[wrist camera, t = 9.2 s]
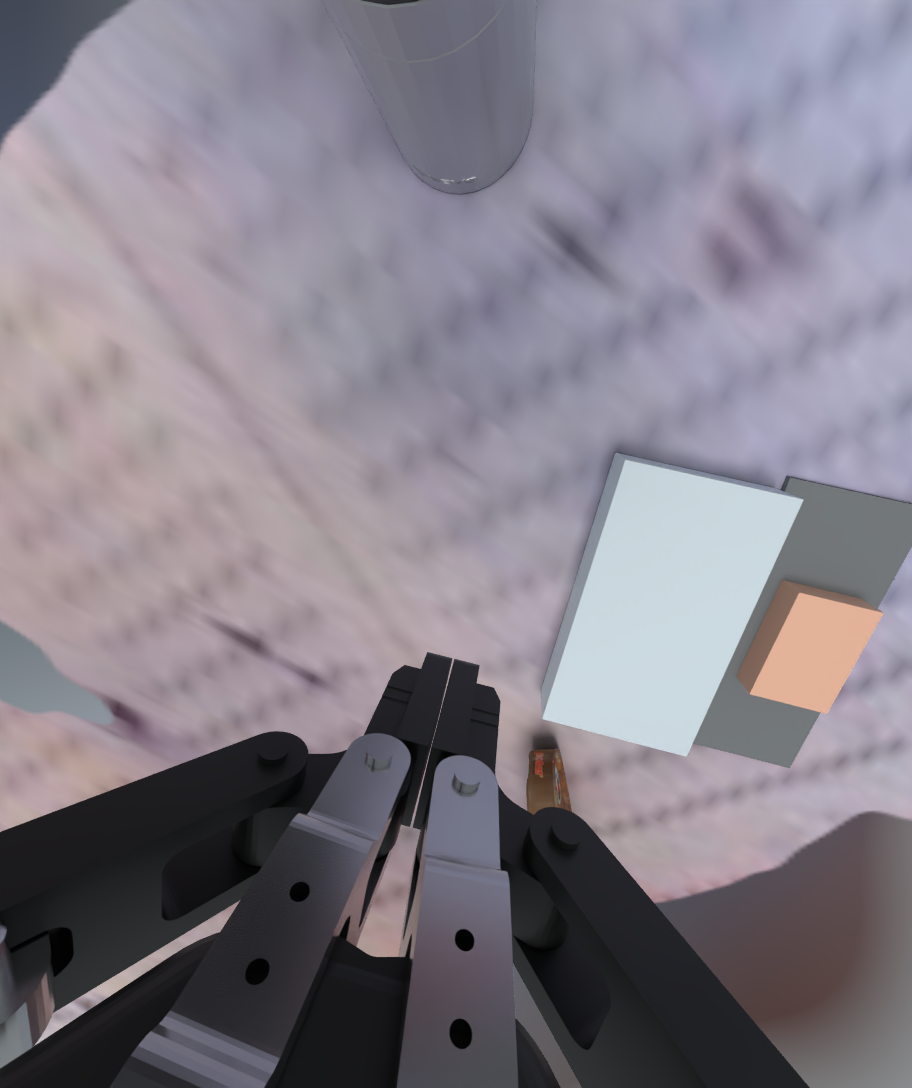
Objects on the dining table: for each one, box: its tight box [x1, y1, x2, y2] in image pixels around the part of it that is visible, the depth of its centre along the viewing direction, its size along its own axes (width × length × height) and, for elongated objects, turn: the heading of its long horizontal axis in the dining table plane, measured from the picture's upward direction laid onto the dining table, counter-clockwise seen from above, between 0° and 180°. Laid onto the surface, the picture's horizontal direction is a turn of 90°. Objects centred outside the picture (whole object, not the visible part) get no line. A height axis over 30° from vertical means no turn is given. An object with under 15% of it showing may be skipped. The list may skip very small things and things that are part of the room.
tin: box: [527, 748, 572, 815], centre depth 43 cm, size 15×3×8 cm, turn 12°
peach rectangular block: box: [737, 580, 883, 714], centre depth 38 cm, size 9×6×2 cm, turn 168°
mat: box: [693, 477, 912, 768], centre depth 39 cm, size 24×10×1 cm, turn 168°
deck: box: [541, 453, 804, 757], centre depth 38 cm, size 22×12×4 cm, turn 169°
